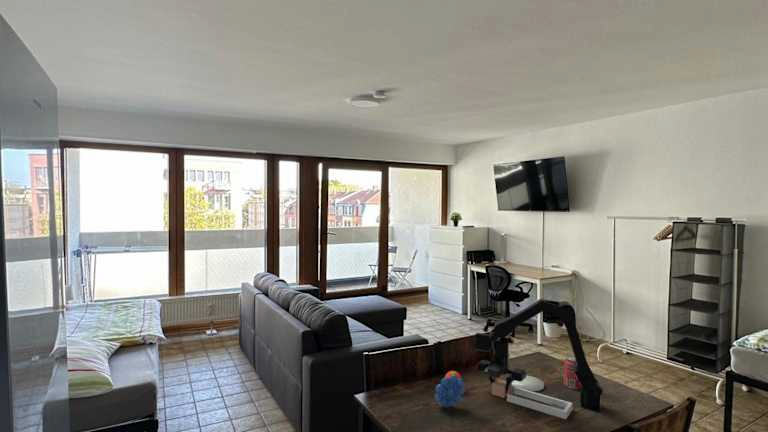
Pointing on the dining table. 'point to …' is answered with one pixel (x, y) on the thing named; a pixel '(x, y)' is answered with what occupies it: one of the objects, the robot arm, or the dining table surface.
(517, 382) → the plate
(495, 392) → the block
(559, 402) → the channel
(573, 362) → the soda can
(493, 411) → the dining table surface
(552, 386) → the dining table surface
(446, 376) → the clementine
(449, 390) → the grapes
